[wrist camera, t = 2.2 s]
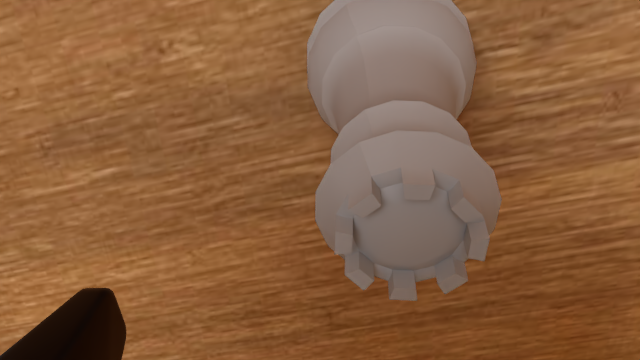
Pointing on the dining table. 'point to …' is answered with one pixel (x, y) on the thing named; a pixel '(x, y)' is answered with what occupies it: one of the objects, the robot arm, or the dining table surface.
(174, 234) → the dining table surface
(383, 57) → the rook chess piece
